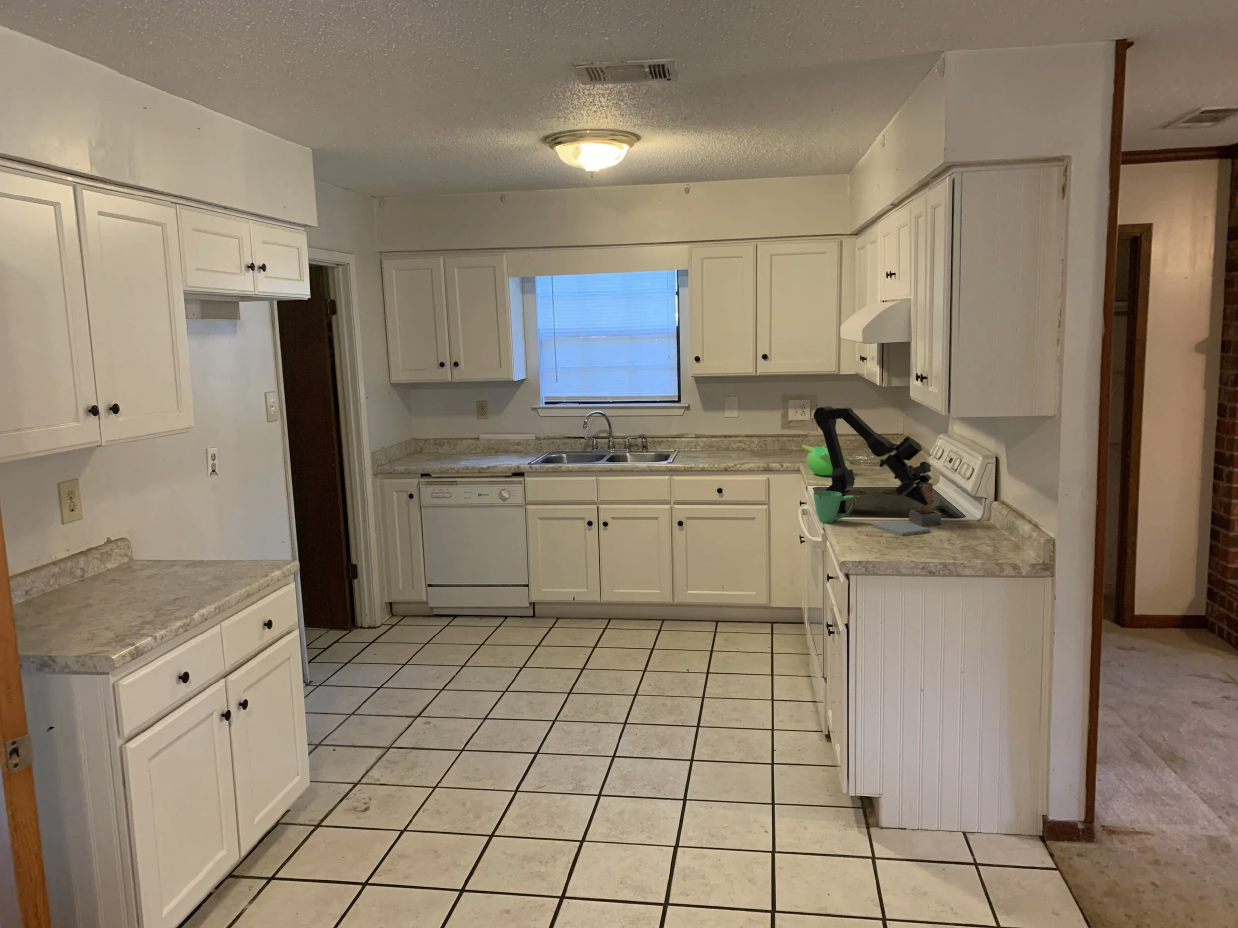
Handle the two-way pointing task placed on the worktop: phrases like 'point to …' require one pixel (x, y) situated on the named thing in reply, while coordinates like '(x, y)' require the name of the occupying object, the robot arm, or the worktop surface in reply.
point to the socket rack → (925, 518)
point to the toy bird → (819, 460)
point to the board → (901, 528)
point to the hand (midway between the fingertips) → (929, 503)
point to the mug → (830, 505)
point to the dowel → (927, 493)
